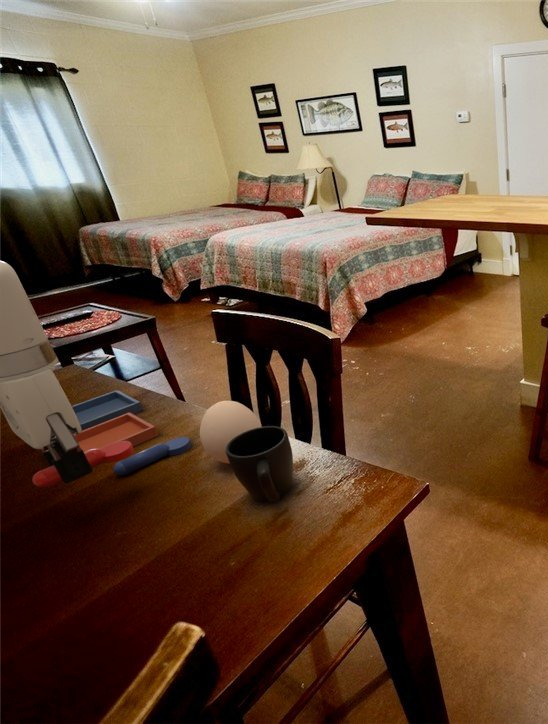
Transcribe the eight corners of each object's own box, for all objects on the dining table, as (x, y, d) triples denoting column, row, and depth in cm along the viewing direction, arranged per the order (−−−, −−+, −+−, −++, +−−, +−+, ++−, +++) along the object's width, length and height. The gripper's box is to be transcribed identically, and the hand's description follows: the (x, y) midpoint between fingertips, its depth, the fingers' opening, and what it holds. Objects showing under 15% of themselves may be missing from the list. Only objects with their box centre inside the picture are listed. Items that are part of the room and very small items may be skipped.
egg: (279, 447, 85) (263, 392, 80) (243, 478, 78) (223, 419, 73) (238, 442, 87) (219, 387, 82) (199, 472, 79) (175, 414, 74)
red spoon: (43, 495, 64) (35, 481, 63) (31, 485, 66) (23, 471, 65) (139, 452, 73) (133, 439, 72) (126, 444, 75) (121, 431, 74)
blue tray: (60, 443, 87) (56, 434, 86) (39, 427, 91) (34, 419, 91) (143, 410, 97) (140, 401, 96) (120, 397, 102) (117, 389, 101)
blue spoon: (122, 481, 77) (116, 470, 76) (111, 474, 79) (105, 462, 78) (196, 446, 86) (191, 435, 85) (184, 439, 88) (180, 429, 87)
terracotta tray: (69, 474, 79) (64, 465, 78) (45, 456, 83) (40, 447, 82) (158, 435, 89) (155, 426, 88) (133, 420, 94) (129, 412, 93)
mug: (244, 532, 67) (224, 479, 63) (242, 484, 76) (225, 435, 72) (307, 511, 71) (292, 459, 67) (298, 467, 80) (284, 420, 76)
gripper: (-50, 355, 61) (17, 469, 69) (-6, 387, 54) (64, 510, 62) (28, 336, 67) (82, 443, 75) (77, 362, 59) (131, 477, 67)
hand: (73, 472), depth 68 cm, fingers closed on red spoon, 2 cm apart
